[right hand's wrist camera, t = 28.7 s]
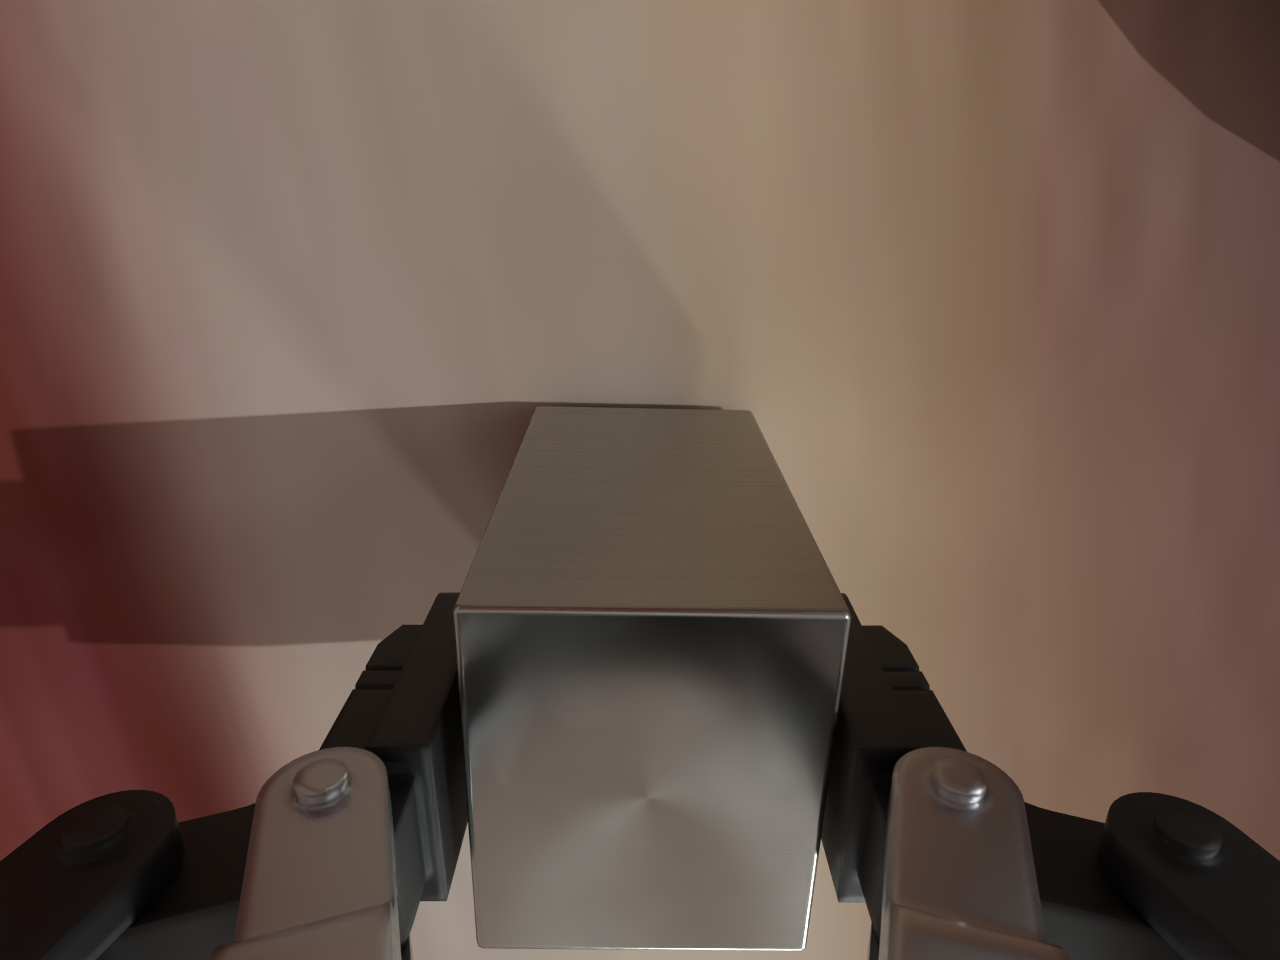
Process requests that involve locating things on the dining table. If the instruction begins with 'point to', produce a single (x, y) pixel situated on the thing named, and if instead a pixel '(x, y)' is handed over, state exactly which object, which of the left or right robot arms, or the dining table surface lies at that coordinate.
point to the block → (647, 689)
